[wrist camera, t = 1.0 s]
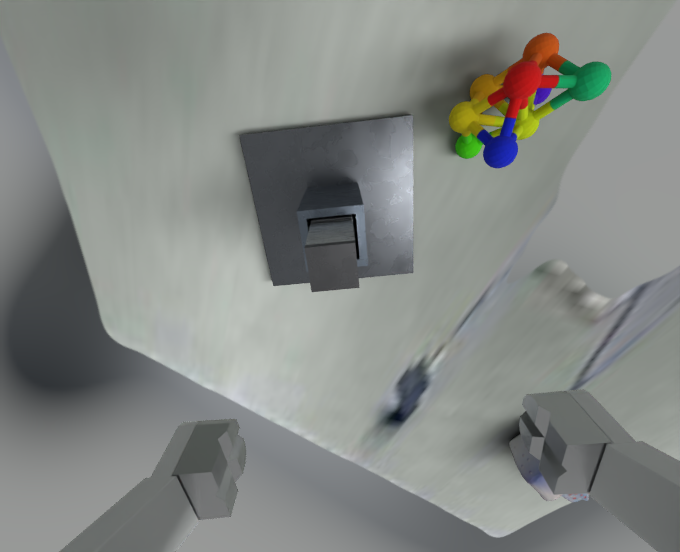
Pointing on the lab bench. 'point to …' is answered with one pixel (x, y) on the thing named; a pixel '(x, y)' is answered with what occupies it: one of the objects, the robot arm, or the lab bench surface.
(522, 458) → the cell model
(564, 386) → the lab bench surface
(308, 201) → the dark grey socket base
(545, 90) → the molecular model
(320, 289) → the post
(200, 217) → the lab bench surface
